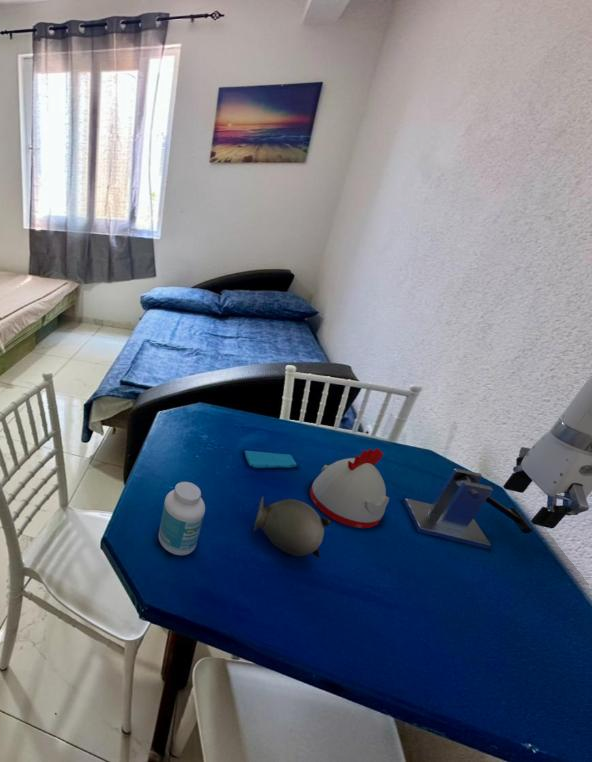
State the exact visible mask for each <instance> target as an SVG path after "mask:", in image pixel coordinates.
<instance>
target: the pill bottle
mask: <svg viewBox="0 0 592 762" xmlns="http://www.w3.org/2000/svg"><path fill="white" fill-rule="evenodd" d="M201 496H202V492H201V489H200V487H198V485H196V484H195V483H193V482H189V481H180V482H178V483H177V484H176V485H175V487H174V489H173V490H171V491H169V492H168V493H167V495H166V496H165V499H164V503H163V509H162V514H161V519H160V524H159V529H158V530H159V531H158V540H159V541H158V542H159V543H160V545H161V546H162V547H163V548H164V550H166V551H167V552H169V553H171V554H173V555H176V556H187V555H189V554H191V553H193V552H194V551H195V549H196V547H197V544H198V540H199V536H200V533H201V528H202V525H203V521H204V517H205V513H206V504H205V501H204V500H203V498H202V497H201Z"/></svg>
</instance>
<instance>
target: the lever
mask: <svg viewBox="0 0 592 762" xmlns="http://www.w3.org/2000/svg"><path fill="white" fill-rule="evenodd" d="M463 481H466V482H471V483H476V484H479V483H478V482H476V481H475V480H473V479H472V478H470V477H469V476H467V475H465V476H463V477H462V478H460V479H458V480H456V481H455V482H456V484H457V485H458V487H460V485H461V484H462V482H463ZM485 502H486V503H487V504H489V505H490V506H492V507H494V508H495V509H496V510H498V511H499V512H501V513H502V514H503V515H505V516H506V517H507V518H509V519H510V520H512V521H513V522H514V524H515V525H516V526H517V528H518V530H520V531H521V533H522V534H532V532H533V529H532V527H531V526H530V524H528V522H527V521H526V520H525V519H524V517H523V516H522V515H521V513H520V512H519V511H518V509H516V508H515V507H509V508H507V507H506V506H505V505H503V504H501V503H500V502H499V501H498V500H496V499H495V498H494V497H492V496H490V495H489V497H488V498H487V499H486V501H485Z"/></svg>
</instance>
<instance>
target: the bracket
mask: <svg viewBox="0 0 592 762" xmlns="http://www.w3.org/2000/svg"><path fill="white" fill-rule="evenodd" d="M465 475H467V476H469V477H470V478H472V479H473V480H475V481H476V482H478V484H476V483H471V482H466V481H463V482H462V484H461V485H460V487H458V485H457V484H456V482H455V481H456V480H458V479H460V478H462V477H463V476H465ZM482 478H483V474H482V473H480V472H475V471H470V470H465V469H461V468H453V469H452V472H451V473H450V475H449V477H448V478H447V480H446V481H445V483H444V484H443V486H442V487H441V488H440V491H439V493H438V494H437V496H436V498H435V499H434V501H433V502H432V503H428V502H423V501H419V500H416V499H411V498H405V499H404V501H403V503H404V506H405V508H406V509H407V512H408V514H409V516H410V518H411V520H412V522H413V525H414V527H415V529H416V530H417V532H418V533H420V534H425V535H428V536H433V537H438V538H441V539H446V540H449V541H453V542H458V543H462V544H465V545H470V546H474V547H477V548H482V549H486V550H489V549H490V548H491V546H492V545H491V543H490V541H489V539H488V538H487V537H486V535H485V534H484V532H483V530H482V529H481V528H480V526H479V524H478V523H477V521H476V520H475V517H476V515H477V514H478V513H479V512H480V510H481V508H482V507H483V505H484V504H485V502H486V499H487V498H488V497H489V496H490V495H491V494H492V492H493V491H494V489H493V488H492V486H490V485H485V484H480V482H481V480H482Z"/></svg>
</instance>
